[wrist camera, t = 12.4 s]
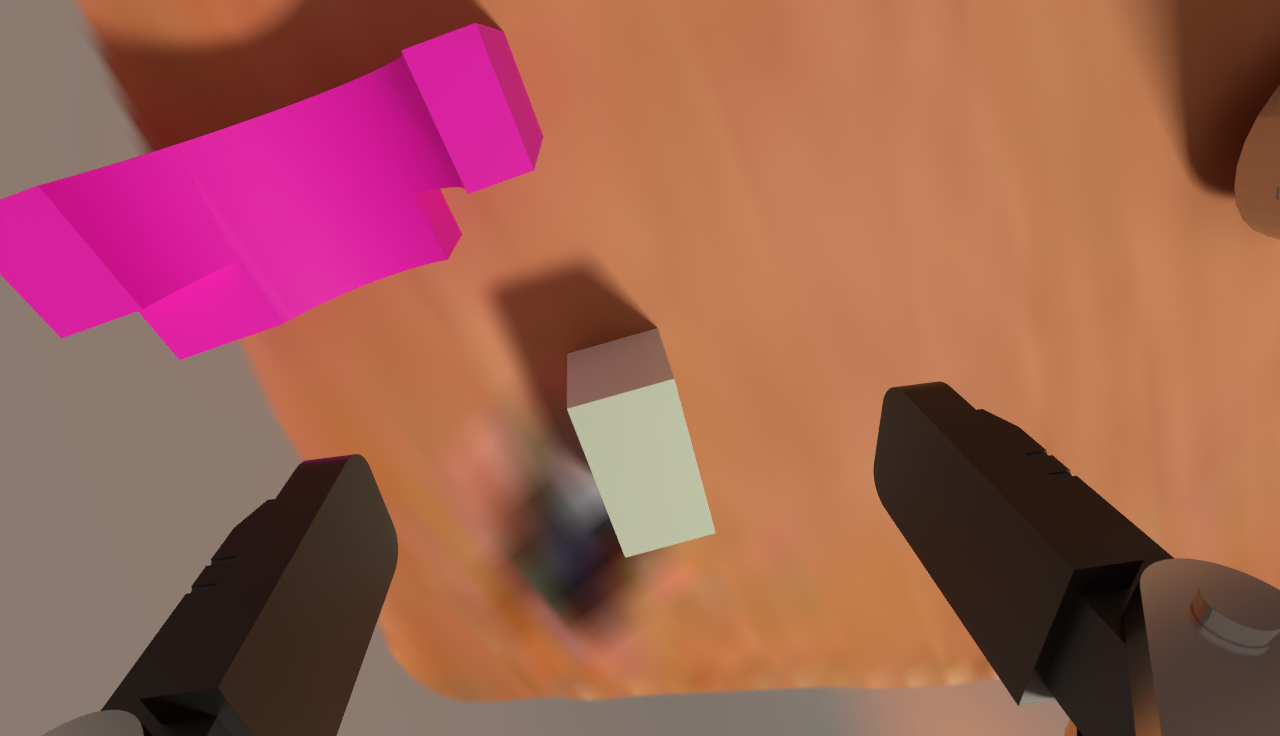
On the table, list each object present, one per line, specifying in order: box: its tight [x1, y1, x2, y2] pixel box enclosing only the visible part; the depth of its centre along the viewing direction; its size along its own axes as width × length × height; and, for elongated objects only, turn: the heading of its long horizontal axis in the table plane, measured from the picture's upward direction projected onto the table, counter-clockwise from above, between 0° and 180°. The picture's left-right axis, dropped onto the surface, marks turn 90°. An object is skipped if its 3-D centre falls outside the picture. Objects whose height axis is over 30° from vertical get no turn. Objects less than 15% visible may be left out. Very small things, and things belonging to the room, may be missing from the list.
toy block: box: [0, 23, 543, 360], centre depth 19 cm, size 15×6×8 cm, turn 108°
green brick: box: [567, 328, 715, 558], centre depth 27 cm, size 4×9×5 cm, turn 15°
